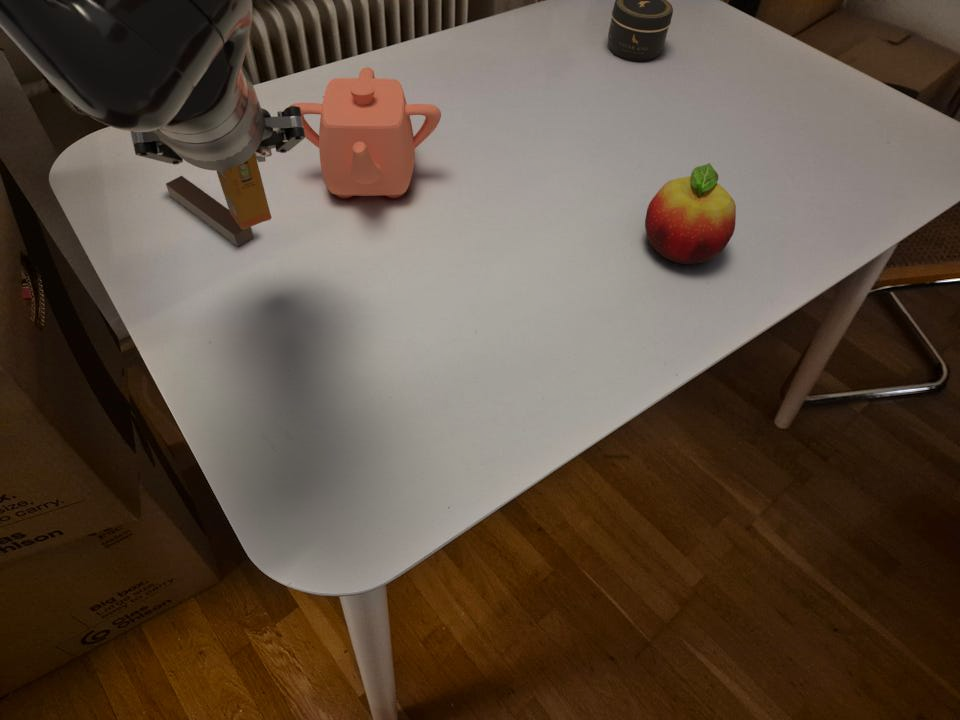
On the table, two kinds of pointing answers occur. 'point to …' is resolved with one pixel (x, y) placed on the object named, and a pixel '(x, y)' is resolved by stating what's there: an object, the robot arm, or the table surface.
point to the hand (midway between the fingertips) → (234, 153)
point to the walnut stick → (208, 210)
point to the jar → (639, 28)
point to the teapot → (367, 135)
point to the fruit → (691, 217)
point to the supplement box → (245, 193)
